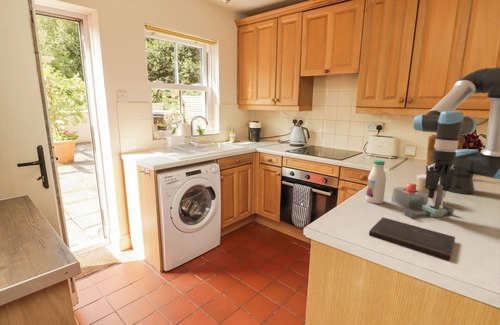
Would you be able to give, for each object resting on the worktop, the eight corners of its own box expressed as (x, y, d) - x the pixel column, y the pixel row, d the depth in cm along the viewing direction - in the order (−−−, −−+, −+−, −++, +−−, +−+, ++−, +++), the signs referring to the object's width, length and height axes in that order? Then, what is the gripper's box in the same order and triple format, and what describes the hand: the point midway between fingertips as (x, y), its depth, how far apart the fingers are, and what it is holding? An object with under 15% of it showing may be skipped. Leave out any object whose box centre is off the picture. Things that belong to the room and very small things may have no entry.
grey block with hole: (408, 200, 129) (411, 186, 128) (426, 208, 120) (428, 193, 118) (391, 201, 127) (393, 187, 126) (407, 209, 118) (410, 194, 116)
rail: (444, 211, 116) (445, 205, 115) (452, 215, 112) (454, 208, 111) (404, 214, 111) (405, 208, 111) (411, 218, 108) (412, 212, 107)
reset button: (409, 195, 125) (411, 182, 124) (416, 197, 121) (418, 185, 120) (402, 195, 124) (404, 183, 123) (409, 198, 120) (411, 185, 119)
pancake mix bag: (456, 179, 171) (465, 136, 165) (422, 174, 183) (428, 133, 177) (457, 177, 176) (465, 135, 170) (423, 172, 188) (430, 133, 182)
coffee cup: (439, 203, 126) (443, 179, 123) (417, 202, 128) (421, 178, 125) (430, 197, 135) (434, 174, 132) (410, 195, 137) (413, 173, 134)
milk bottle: (381, 199, 130) (387, 159, 125) (384, 205, 122) (389, 162, 118) (364, 197, 132) (369, 158, 128) (366, 202, 125) (371, 161, 121)
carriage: (432, 211, 116) (437, 182, 113) (445, 216, 110) (451, 186, 107) (421, 212, 114) (426, 183, 112) (433, 217, 109) (439, 187, 106)
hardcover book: (381, 222, 105) (382, 217, 104) (454, 243, 90) (455, 236, 90) (368, 236, 93) (369, 230, 93) (448, 262, 78) (450, 255, 78)
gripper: (452, 148, 112) (442, 200, 117) (420, 148, 108) (411, 202, 113) (470, 151, 105) (459, 207, 109) (436, 151, 101) (426, 209, 106)
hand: (434, 204), depth 111 cm, fingers closed on carriage, 3 cm apart
